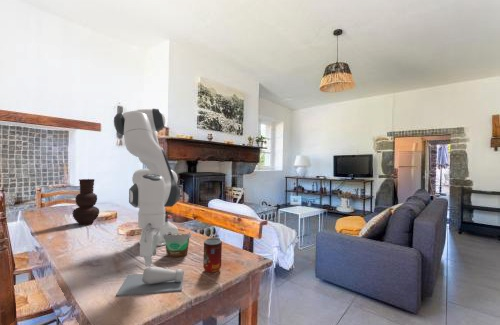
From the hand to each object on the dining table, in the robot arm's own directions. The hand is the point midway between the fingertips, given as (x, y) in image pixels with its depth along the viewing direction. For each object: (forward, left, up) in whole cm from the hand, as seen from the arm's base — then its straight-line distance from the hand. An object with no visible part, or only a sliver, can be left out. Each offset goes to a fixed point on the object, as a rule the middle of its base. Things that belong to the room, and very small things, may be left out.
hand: (150, 260), depth 86 cm
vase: (-7, -110, -8) cm, 111 cm away
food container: (-20, -16, -8) cm, 27 cm away
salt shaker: (+3, 0, -4) cm, 5 cm away
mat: (-1, +1, -8) cm, 8 cm away
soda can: (-22, +7, -8) cm, 24 cm away
